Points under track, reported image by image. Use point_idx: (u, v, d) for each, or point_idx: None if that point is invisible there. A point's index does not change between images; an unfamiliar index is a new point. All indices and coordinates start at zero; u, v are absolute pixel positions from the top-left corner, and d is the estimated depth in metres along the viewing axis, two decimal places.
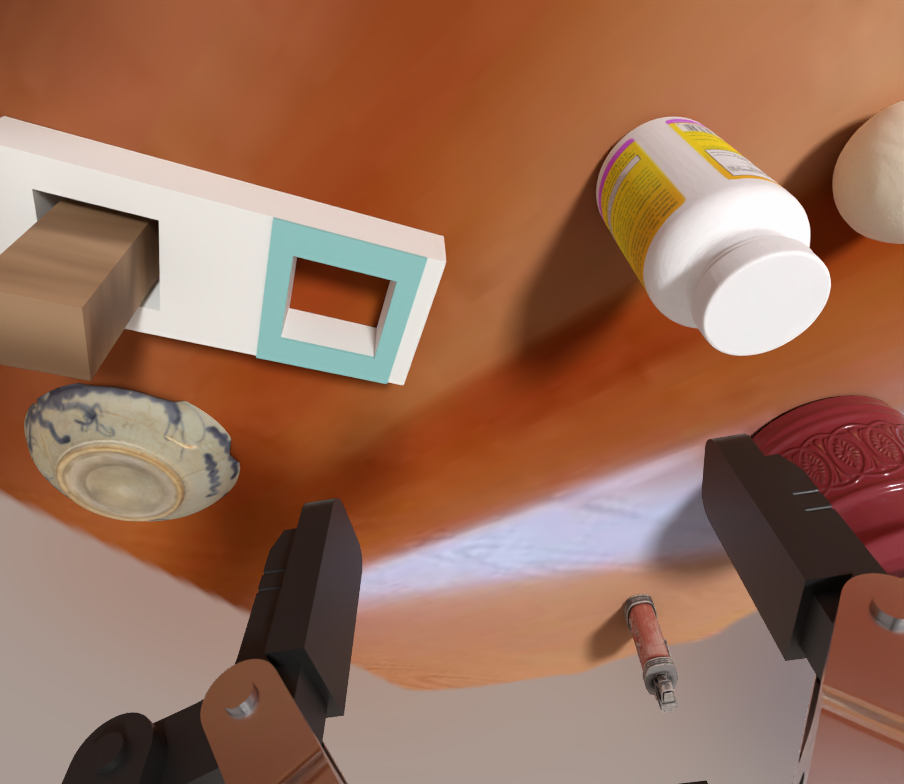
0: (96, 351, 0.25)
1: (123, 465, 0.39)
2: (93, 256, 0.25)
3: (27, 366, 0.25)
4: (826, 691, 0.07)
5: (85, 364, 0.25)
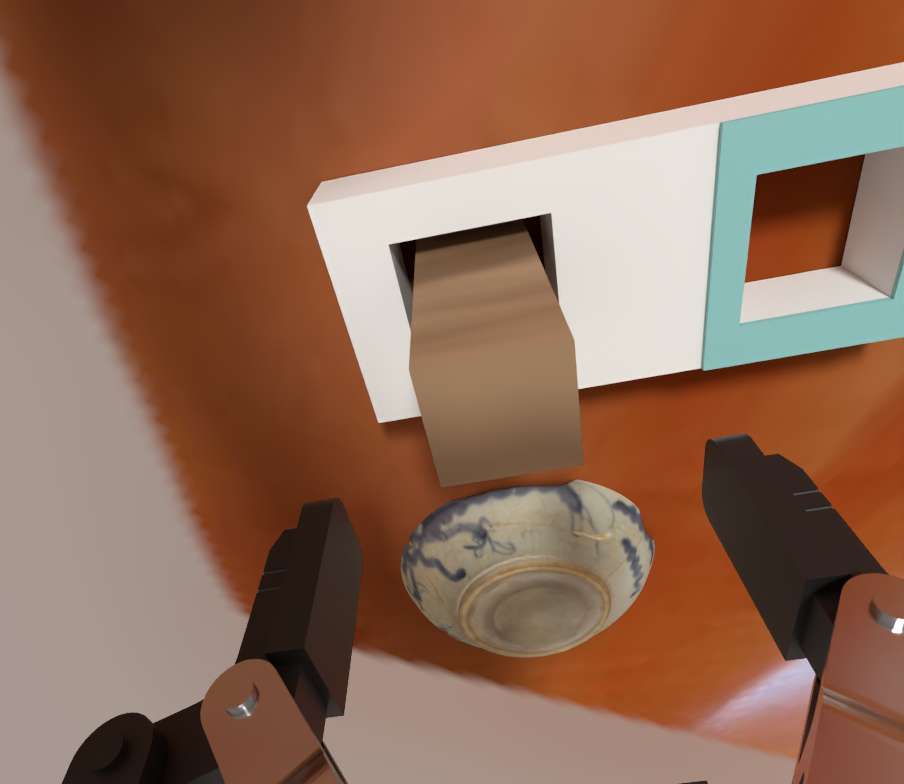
0: None
1: (535, 586, 0.30)
2: (514, 283, 0.17)
3: (493, 474, 0.16)
4: (826, 691, 0.07)
5: (576, 439, 0.15)
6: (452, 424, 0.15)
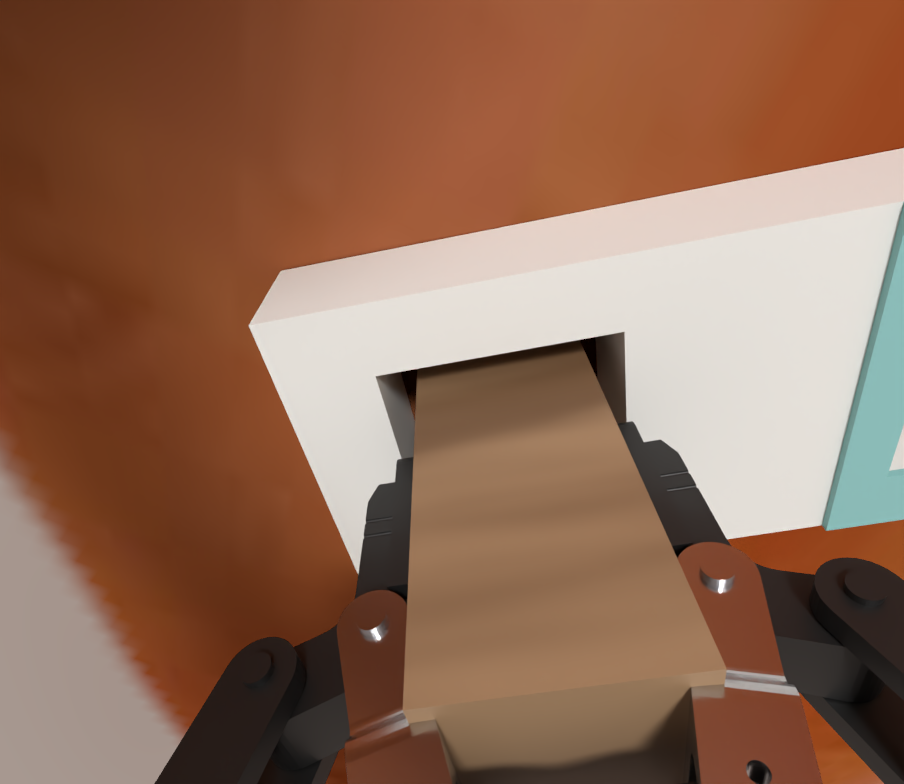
0: None
1: None
2: (578, 471, 0.10)
3: None
4: None
5: None
6: (482, 769, 0.08)
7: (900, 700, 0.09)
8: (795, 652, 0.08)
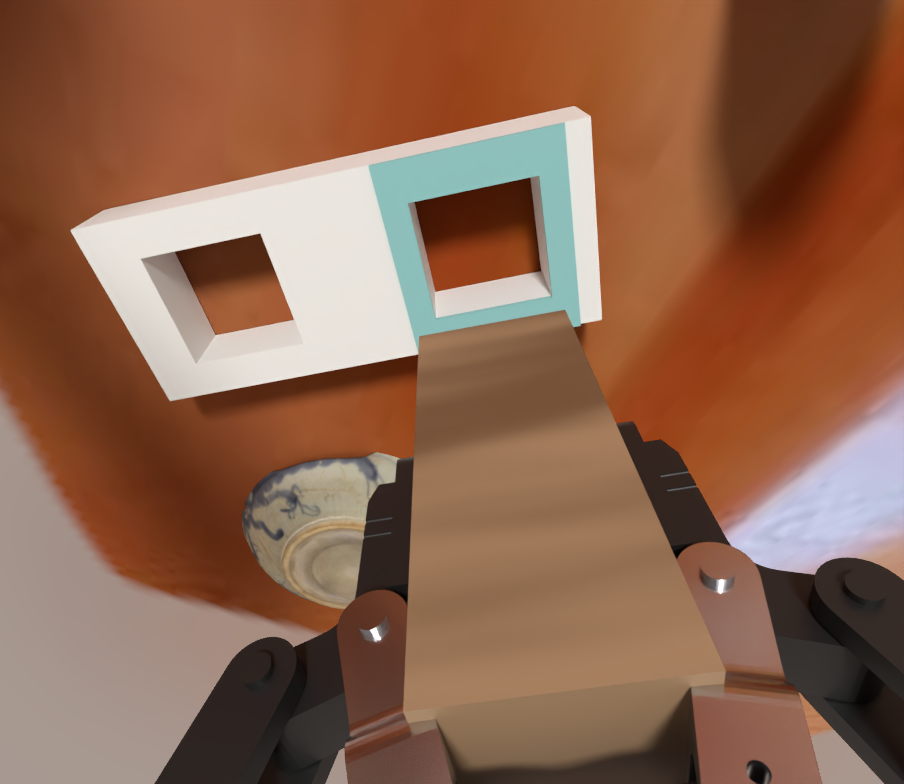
0: None
1: (340, 543, 0.35)
2: (579, 473, 0.10)
3: None
4: None
5: None
6: (482, 770, 0.08)
7: (900, 700, 0.09)
8: (795, 652, 0.08)
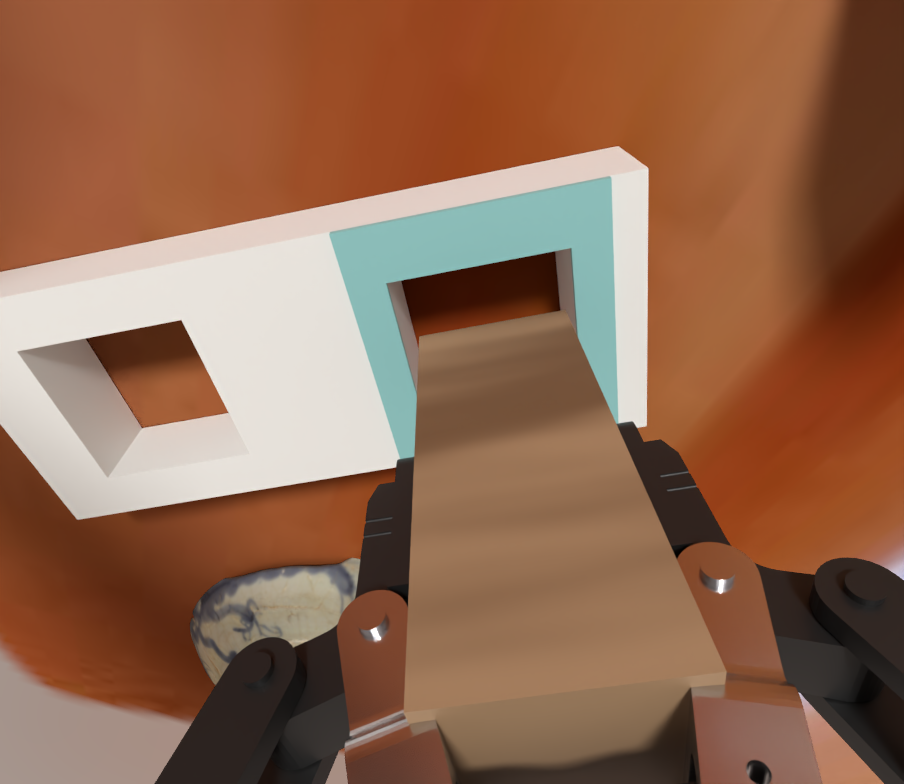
0: None
1: None
2: (579, 473, 0.10)
3: None
4: None
5: None
6: (482, 771, 0.08)
7: (900, 700, 0.09)
8: (795, 652, 0.08)
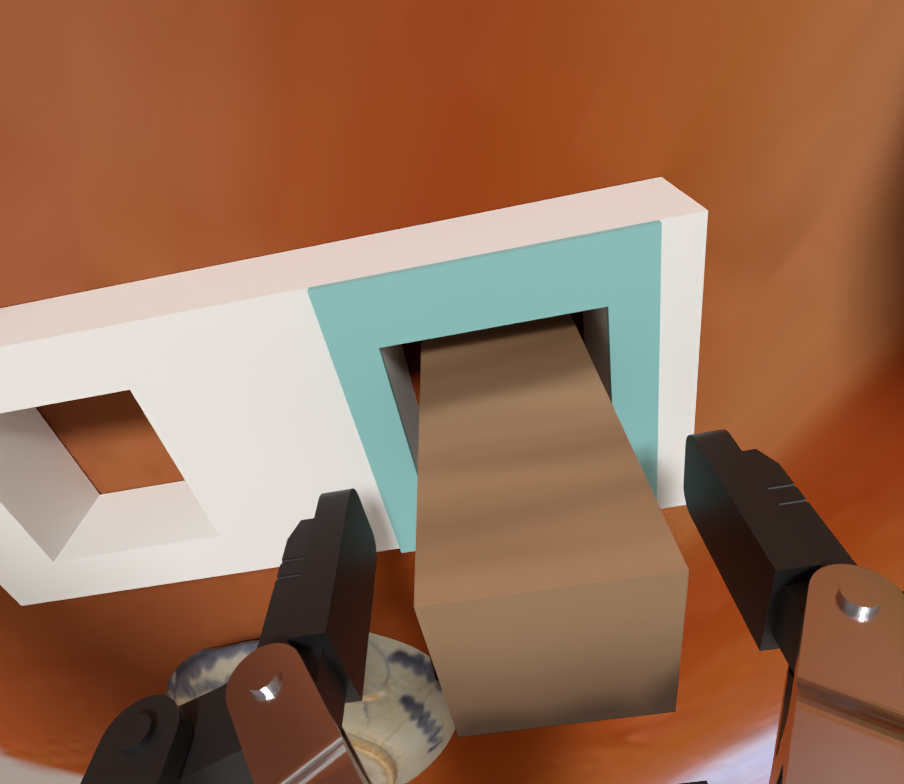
0: None
1: None
2: (567, 422, 0.11)
3: (539, 723, 0.10)
4: (800, 683, 0.07)
5: (669, 684, 0.10)
6: (479, 670, 0.09)
7: None
8: None
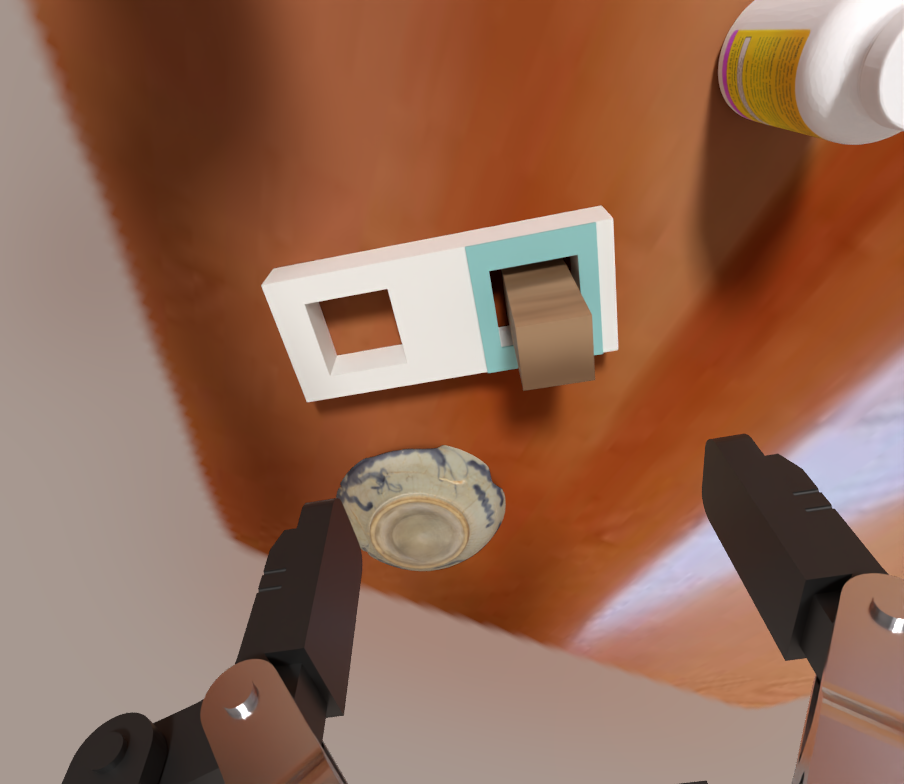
0: None
1: (416, 513, 0.46)
2: (560, 290, 0.33)
3: (550, 383, 0.32)
4: (826, 691, 0.07)
5: (591, 365, 0.31)
6: (532, 355, 0.31)
7: None
8: None
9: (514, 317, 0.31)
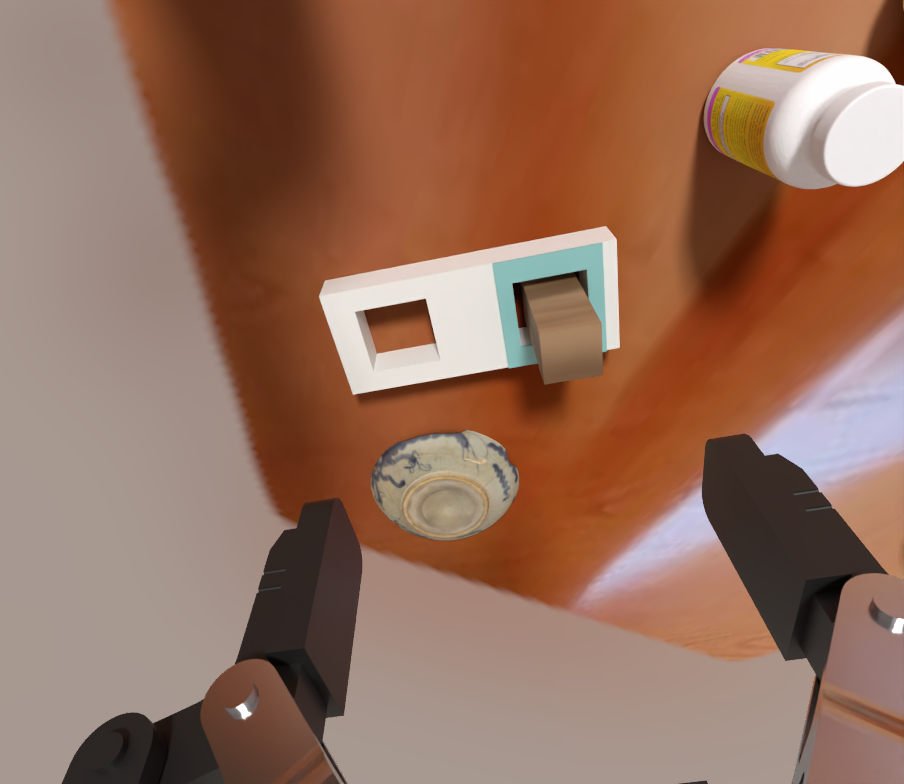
0: None
1: (443, 489, 0.53)
2: (574, 300, 0.39)
3: (566, 378, 0.38)
4: (826, 691, 0.07)
5: (600, 363, 0.38)
6: (552, 356, 0.37)
7: None
8: None
9: (537, 324, 0.37)
